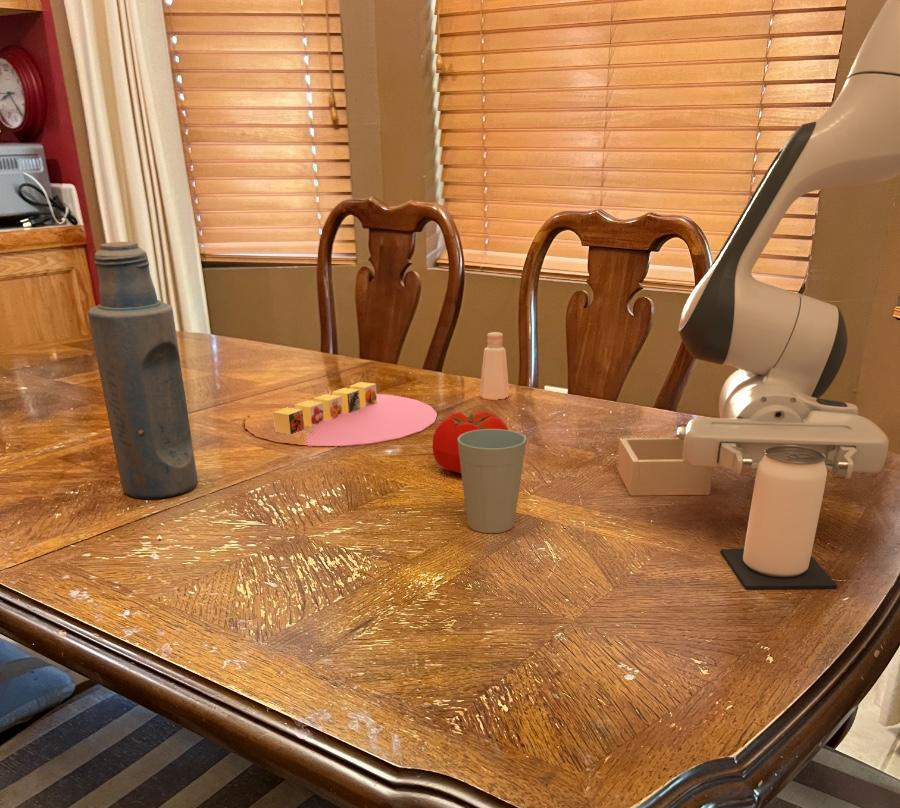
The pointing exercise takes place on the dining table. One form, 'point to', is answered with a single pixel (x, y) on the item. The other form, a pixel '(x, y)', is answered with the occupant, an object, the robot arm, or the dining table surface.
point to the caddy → (660, 468)
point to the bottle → (141, 376)
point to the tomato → (453, 428)
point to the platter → (355, 417)
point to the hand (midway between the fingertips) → (794, 469)
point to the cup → (491, 477)
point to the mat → (754, 580)
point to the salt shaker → (494, 369)
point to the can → (785, 510)
